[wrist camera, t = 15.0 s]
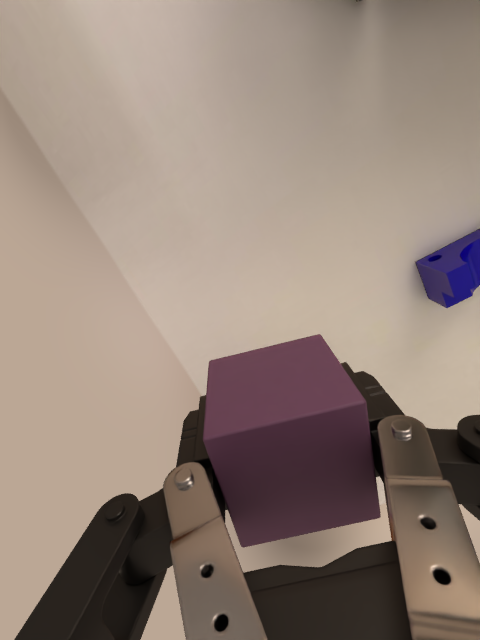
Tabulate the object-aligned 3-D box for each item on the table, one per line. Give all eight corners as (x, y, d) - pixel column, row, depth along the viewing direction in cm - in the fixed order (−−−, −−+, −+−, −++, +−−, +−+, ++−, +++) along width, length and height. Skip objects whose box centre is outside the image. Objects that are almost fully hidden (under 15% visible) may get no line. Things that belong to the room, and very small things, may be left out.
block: (236, 447, 15) (241, 549, 11) (208, 360, 13) (201, 439, 9) (336, 424, 15) (381, 518, 10) (320, 333, 13) (367, 400, 9)
